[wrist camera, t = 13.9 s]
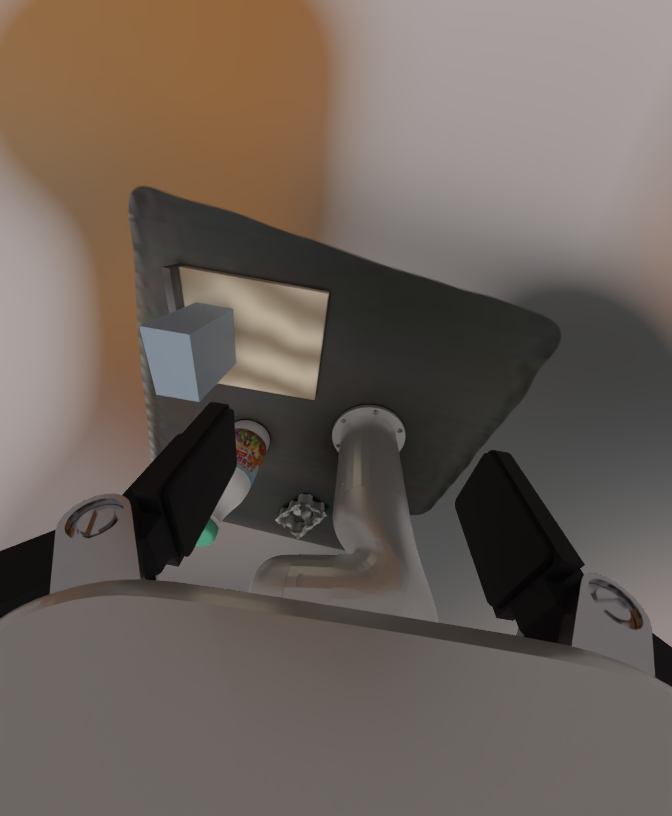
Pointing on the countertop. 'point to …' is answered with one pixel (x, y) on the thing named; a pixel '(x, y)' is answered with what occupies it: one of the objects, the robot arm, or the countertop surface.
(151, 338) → the carton
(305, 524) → the egg carton
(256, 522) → the countertop surface
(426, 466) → the countertop surface
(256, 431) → the milk bottle
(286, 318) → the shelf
